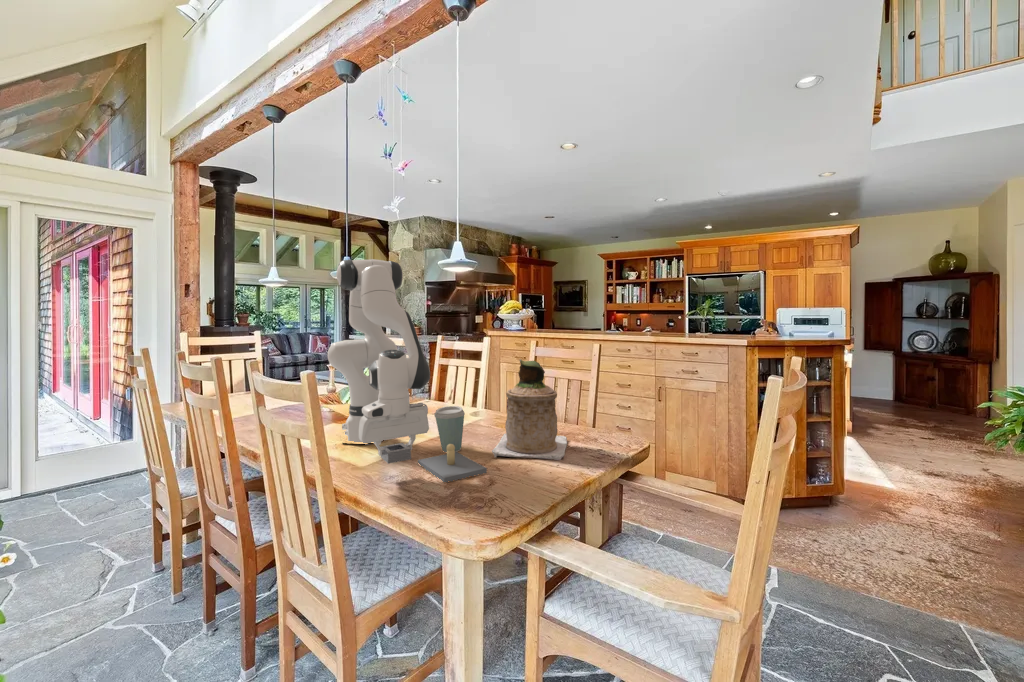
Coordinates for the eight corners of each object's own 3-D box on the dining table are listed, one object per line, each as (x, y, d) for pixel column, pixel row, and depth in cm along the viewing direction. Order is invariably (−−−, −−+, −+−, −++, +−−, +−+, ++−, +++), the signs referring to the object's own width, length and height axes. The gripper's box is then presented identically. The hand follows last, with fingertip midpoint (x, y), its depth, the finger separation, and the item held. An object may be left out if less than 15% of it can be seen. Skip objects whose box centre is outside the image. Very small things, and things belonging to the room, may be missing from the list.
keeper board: (417, 464, 151) (417, 440, 150) (457, 456, 158) (456, 433, 158) (444, 483, 134) (443, 456, 133) (486, 472, 142) (486, 447, 141)
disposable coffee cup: (464, 455, 159) (462, 411, 158) (432, 455, 159) (431, 412, 158) (467, 446, 170) (466, 405, 169) (438, 446, 170) (436, 405, 169)
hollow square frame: (380, 457, 139) (380, 446, 138) (402, 453, 142) (402, 442, 142) (388, 463, 133) (387, 452, 133) (411, 459, 137) (410, 448, 136)
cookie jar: (564, 461, 151) (563, 362, 149) (490, 458, 155) (488, 363, 153) (567, 440, 176) (566, 355, 173) (503, 438, 179) (501, 355, 177)
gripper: (423, 399, 145) (424, 443, 146) (356, 408, 133) (357, 455, 135) (431, 403, 139) (432, 448, 141) (362, 413, 128) (364, 462, 129)
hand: (395, 452), depth 138 cm, fingers closed on hollow square frame, 7 cm apart
